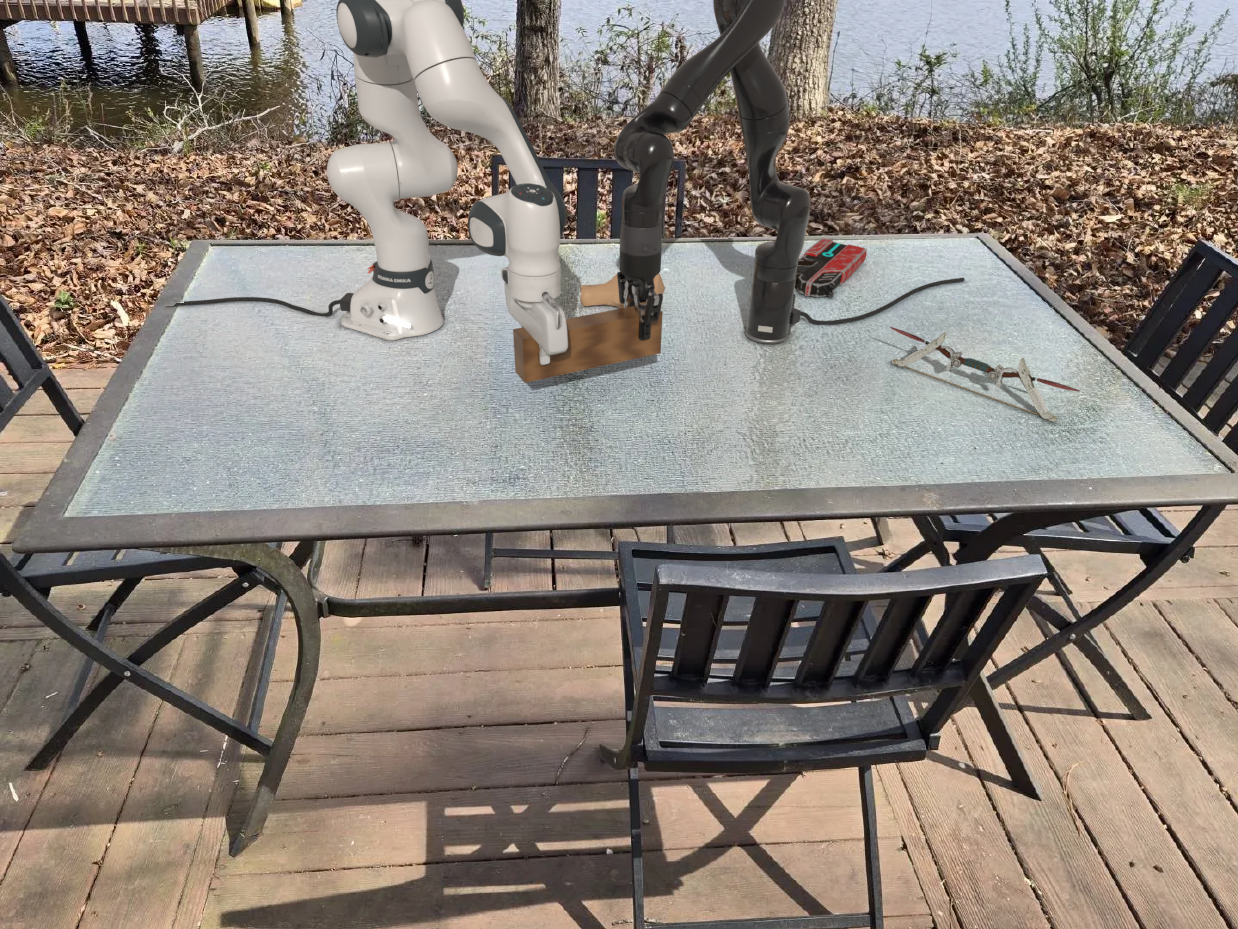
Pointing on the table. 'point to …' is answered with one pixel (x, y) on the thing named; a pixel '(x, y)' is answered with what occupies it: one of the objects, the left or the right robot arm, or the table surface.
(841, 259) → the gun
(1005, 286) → the table surface
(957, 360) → the bow
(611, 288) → the squash
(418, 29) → the left robot arm
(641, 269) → the right robot arm
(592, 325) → the bar
